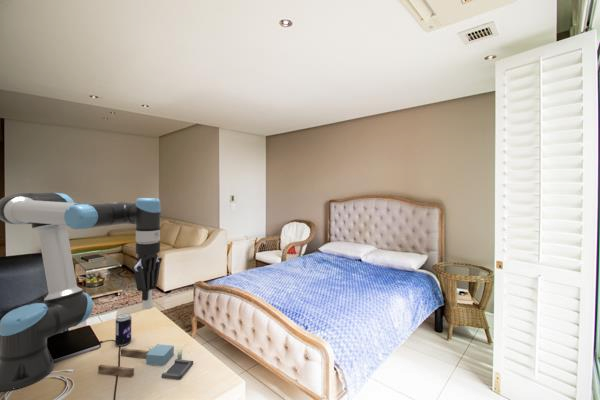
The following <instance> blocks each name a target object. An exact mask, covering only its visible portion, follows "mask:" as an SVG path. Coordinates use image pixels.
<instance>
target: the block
mask: <svg viewBox="0 0 600 400" xmlns="http://www.w3.org/2000/svg"><path fill="white" fill-rule="evenodd" d="M153 347H154V348H153V349H152V350H151V351H149V350H148V351H149V352H148V353H147V354H146V359H145V365H150V366H151V365H152V366H165V365H166V364H167V363H168V362H169V361H170V359H171V358H172V357H173V356H174V352H175V346H174V345H170V344H158V343H157V344H156V345H155V346H153Z"/></svg>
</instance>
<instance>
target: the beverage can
mask: <svg viewBox="0 0 600 400" xmlns="http://www.w3.org/2000/svg"><path fill="white" fill-rule="evenodd" d="M114 339H115V345H117V346H119V347H122V346H127V345H128V344H129V343H130V342H131V341H132V316H131V313H129V312H126V313H125V312H124V313H120V314H118V315H117V316H116V318H115V338H114Z"/></svg>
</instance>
